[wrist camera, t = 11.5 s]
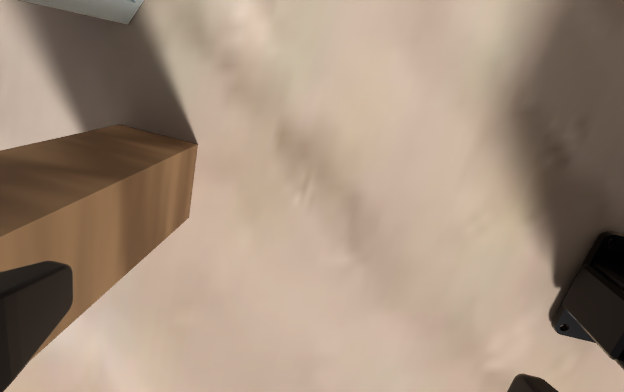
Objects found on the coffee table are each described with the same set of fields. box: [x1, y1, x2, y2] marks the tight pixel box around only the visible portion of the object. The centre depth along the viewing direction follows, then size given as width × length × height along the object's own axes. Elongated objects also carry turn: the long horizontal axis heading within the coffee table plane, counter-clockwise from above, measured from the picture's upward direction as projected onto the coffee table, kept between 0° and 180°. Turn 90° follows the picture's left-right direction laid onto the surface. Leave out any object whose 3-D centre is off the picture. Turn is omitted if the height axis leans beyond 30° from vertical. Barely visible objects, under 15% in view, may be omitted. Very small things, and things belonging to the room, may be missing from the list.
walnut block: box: [0, 125, 198, 360], centre depth 14 cm, size 4×4×14 cm
